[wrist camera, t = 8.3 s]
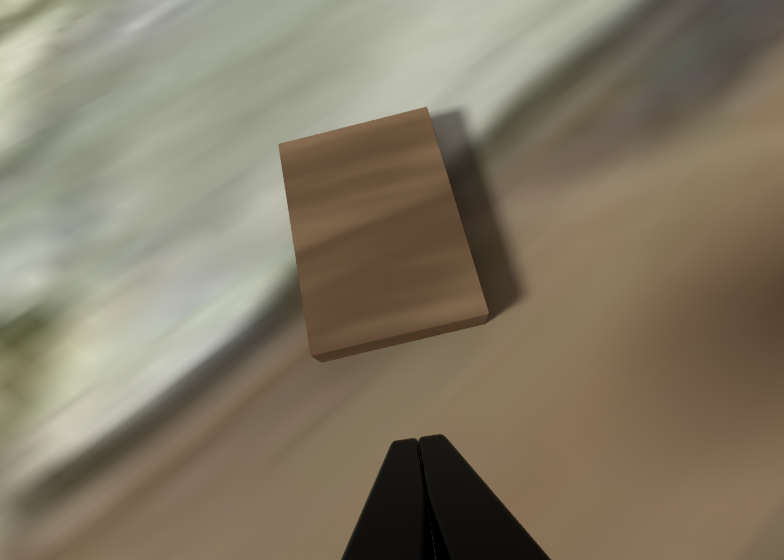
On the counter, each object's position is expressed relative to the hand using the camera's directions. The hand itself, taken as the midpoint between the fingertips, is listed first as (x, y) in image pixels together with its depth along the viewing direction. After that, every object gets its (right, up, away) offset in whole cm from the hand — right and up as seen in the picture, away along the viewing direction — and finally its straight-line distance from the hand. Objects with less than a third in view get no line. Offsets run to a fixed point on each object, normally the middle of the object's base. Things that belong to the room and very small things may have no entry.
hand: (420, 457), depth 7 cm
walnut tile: (0, 0, +11) cm, 11 cm away
